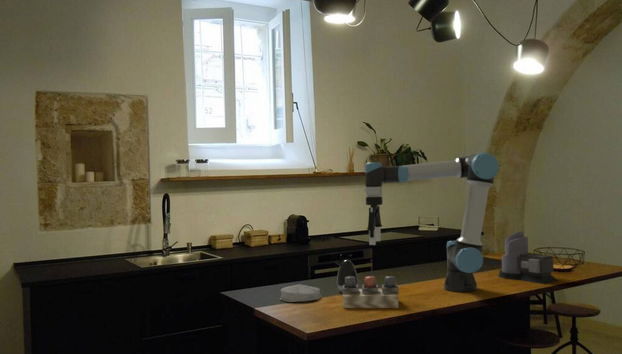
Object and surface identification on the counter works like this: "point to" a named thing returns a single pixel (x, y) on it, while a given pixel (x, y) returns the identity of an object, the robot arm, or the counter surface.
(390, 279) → the cap
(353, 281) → the cap
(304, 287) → the food container
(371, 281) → the middle cap
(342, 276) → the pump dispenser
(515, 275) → the juicer
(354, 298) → the console
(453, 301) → the counter surface
